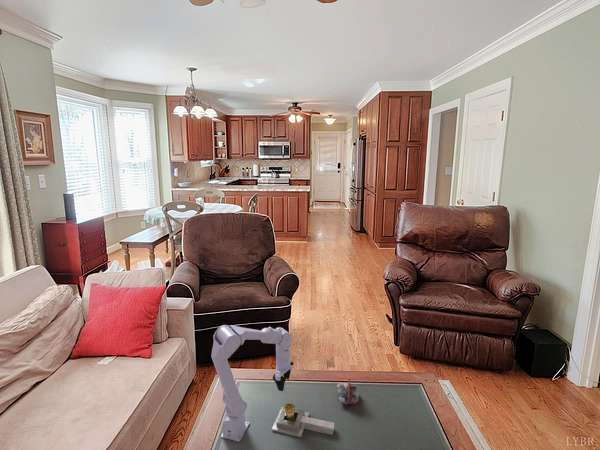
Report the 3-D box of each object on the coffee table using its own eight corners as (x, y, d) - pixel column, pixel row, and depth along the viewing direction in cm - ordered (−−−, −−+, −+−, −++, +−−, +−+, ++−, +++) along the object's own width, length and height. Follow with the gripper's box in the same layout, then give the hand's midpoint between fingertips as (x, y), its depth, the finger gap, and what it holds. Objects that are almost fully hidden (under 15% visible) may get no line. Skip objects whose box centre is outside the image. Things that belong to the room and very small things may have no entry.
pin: (293, 427, 140) (292, 412, 138) (283, 424, 141) (282, 409, 139) (297, 418, 144) (296, 404, 142) (287, 416, 145) (286, 402, 143)
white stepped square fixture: (330, 444, 131) (330, 437, 131) (271, 430, 138) (271, 424, 137) (336, 420, 143) (336, 414, 142) (282, 408, 149) (281, 402, 148)
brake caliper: (364, 404, 148) (347, 384, 146) (343, 416, 150) (327, 396, 149) (363, 386, 158) (347, 367, 157) (344, 397, 161) (328, 378, 160)
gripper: (286, 368, 138) (287, 397, 142) (297, 348, 152) (297, 375, 155) (269, 365, 140) (271, 394, 144) (281, 345, 154) (282, 372, 157)
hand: (283, 384), depth 150 cm, fingers open, 7 cm apart
